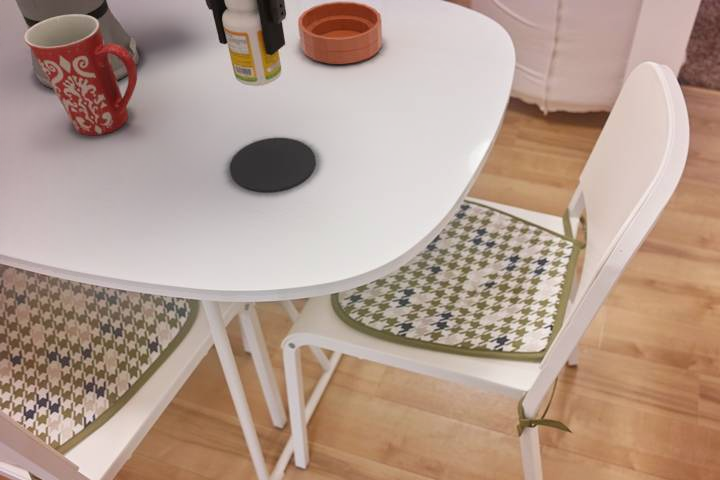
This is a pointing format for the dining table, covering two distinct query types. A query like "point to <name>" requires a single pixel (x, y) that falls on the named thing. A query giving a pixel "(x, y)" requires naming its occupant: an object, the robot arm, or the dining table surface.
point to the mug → (83, 71)
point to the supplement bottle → (248, 44)
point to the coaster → (272, 164)
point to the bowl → (340, 32)
